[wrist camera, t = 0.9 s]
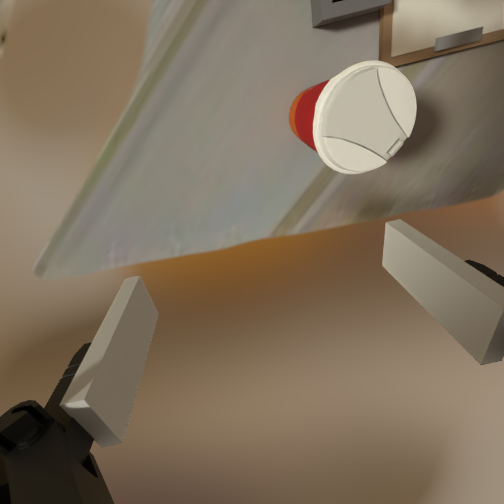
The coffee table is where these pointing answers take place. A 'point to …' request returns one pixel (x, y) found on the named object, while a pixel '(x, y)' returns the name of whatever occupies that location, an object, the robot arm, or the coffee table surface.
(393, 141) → the coffee cup
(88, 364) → the robot arm
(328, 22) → the button housing
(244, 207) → the coffee table surface
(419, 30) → the drawing board
